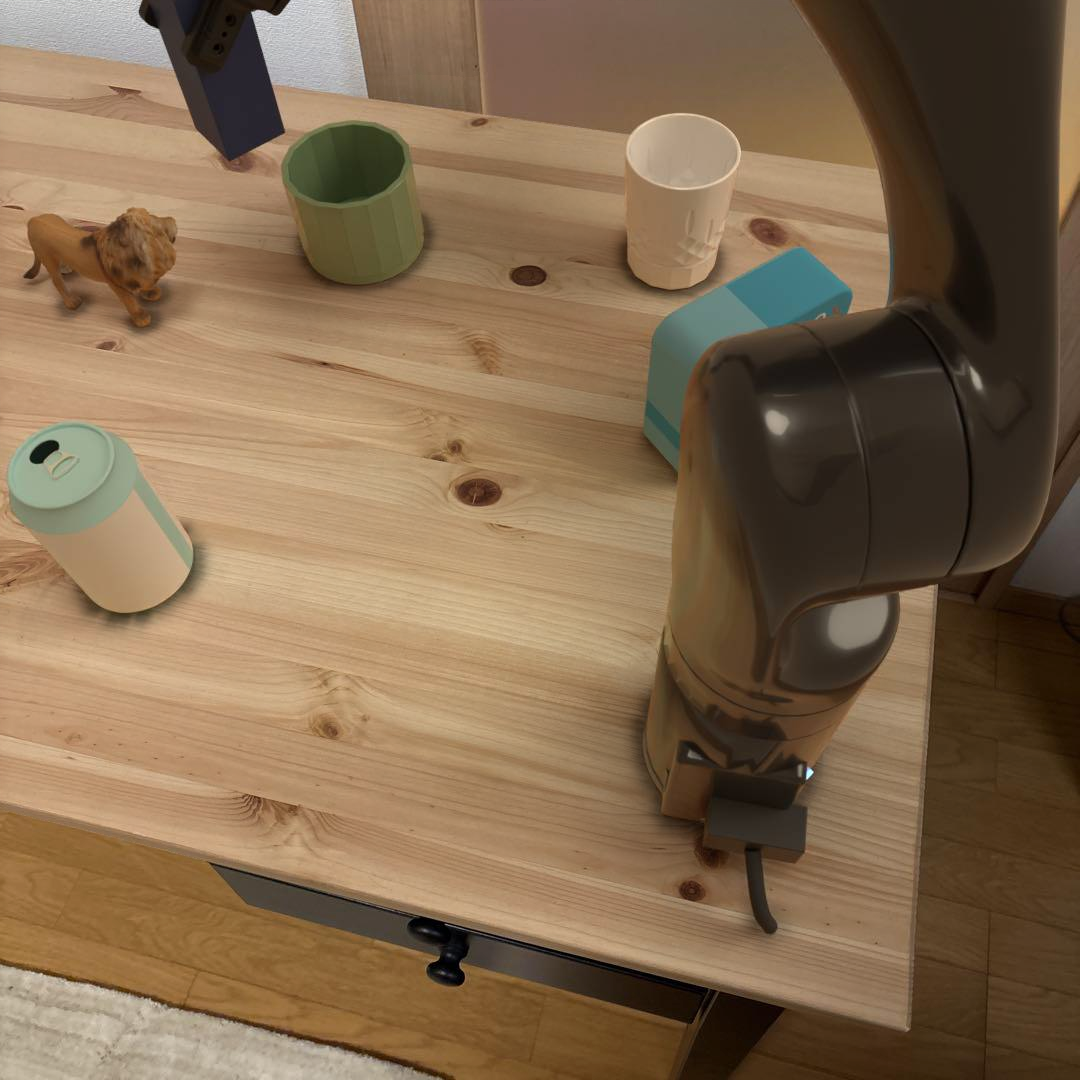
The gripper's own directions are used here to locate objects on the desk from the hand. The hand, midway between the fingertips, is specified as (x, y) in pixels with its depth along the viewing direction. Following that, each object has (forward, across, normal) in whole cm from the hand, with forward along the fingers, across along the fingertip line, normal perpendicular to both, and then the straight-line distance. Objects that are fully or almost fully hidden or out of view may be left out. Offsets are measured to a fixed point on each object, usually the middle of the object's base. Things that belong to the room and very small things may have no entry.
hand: (177, 44), depth 55 cm
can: (+29, +12, +4) cm, 31 cm away
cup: (+9, -3, +23) cm, 25 cm away
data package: (+3, +28, +29) cm, 41 cm away
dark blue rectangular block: (+3, 0, +6) cm, 7 cm away
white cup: (-3, +14, +35) cm, 38 cm away
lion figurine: (+22, -11, +11) cm, 27 cm away
